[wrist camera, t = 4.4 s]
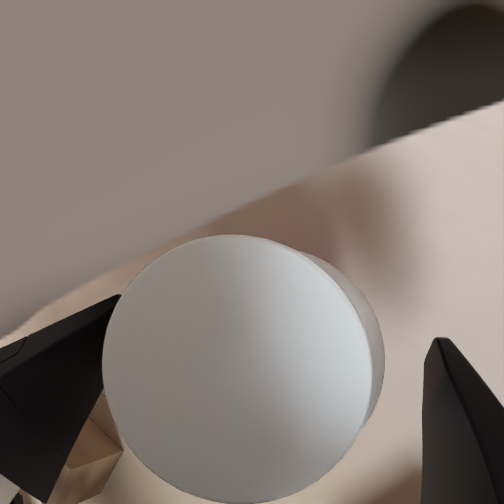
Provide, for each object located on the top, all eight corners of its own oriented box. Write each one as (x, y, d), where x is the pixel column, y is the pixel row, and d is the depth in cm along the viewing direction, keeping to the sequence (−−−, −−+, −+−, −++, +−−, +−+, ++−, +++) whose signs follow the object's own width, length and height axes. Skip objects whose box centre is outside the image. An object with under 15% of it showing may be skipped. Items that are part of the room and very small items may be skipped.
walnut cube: (100, 493, 15) (51, 514, 10) (55, 445, 16) (4, 454, 12) (124, 450, 15) (69, 469, 11) (73, 399, 17) (17, 404, 12)
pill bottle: (210, 371, 16) (37, 391, 5) (272, 270, 16) (175, 145, 6) (312, 435, 13) (272, 582, 3) (379, 330, 14) (484, 298, 4)
